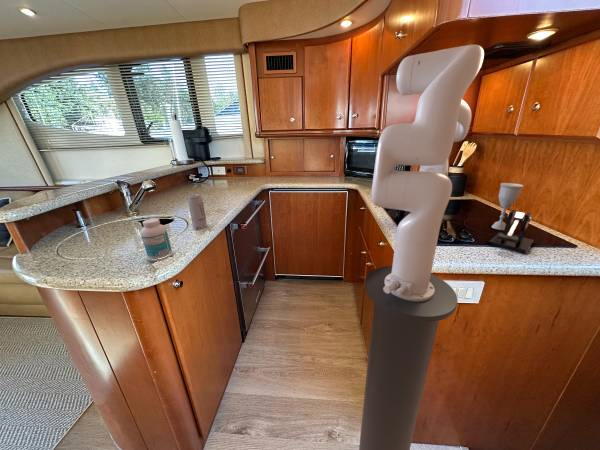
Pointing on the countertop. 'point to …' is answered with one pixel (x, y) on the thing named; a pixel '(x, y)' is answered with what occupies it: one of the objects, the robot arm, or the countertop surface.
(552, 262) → the countertop surface
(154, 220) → the pill bottle
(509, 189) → the chalice
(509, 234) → the lever
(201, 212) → the energy drink can
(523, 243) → the bracket
